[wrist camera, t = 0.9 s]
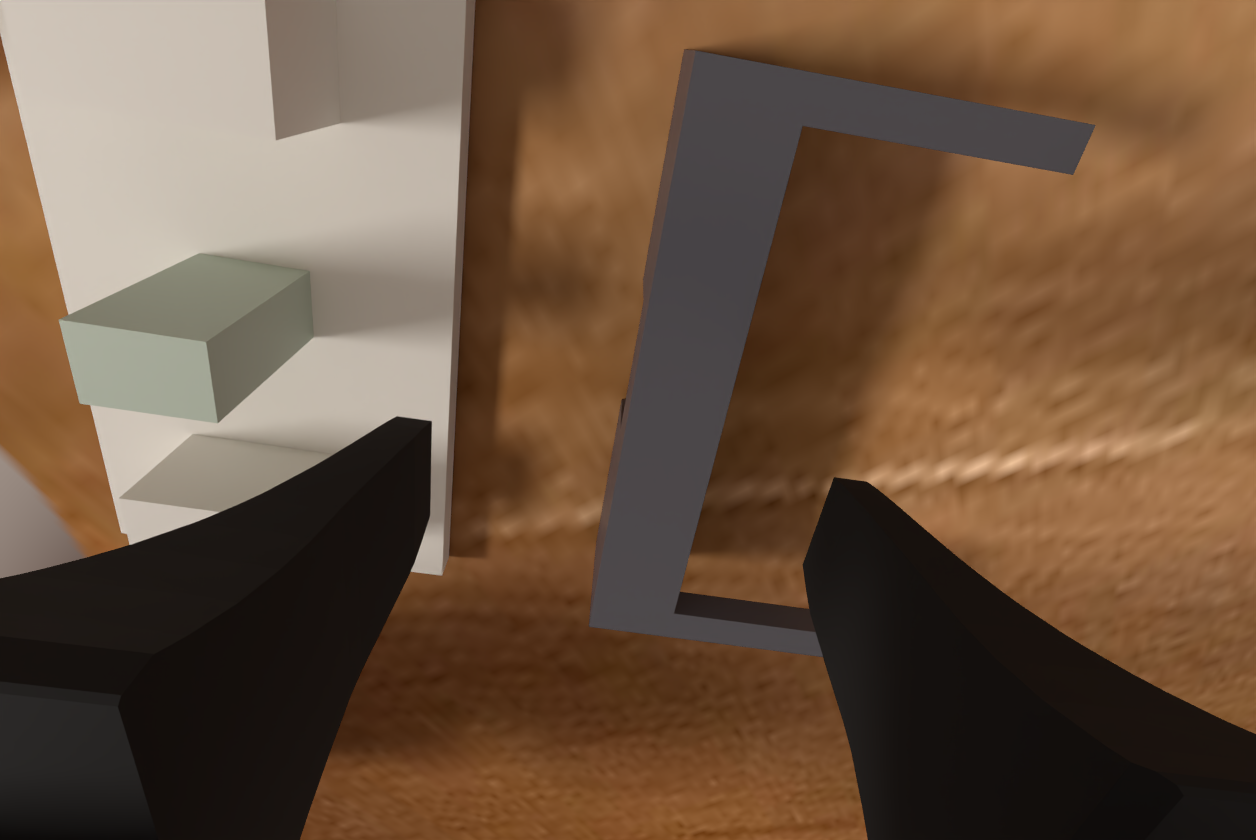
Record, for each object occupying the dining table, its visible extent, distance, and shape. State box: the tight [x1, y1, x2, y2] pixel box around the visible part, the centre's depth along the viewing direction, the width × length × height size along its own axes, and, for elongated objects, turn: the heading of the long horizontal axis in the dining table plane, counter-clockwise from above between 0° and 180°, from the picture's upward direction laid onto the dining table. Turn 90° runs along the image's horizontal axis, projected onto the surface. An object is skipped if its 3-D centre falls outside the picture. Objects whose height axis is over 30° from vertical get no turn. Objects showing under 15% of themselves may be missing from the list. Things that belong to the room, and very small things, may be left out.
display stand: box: [0, 0, 475, 576], centre depth 18 cm, size 19×11×6 cm, turn 171°
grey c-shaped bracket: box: [589, 49, 1095, 657], centre depth 20 cm, size 16×8×4 cm, turn 171°
